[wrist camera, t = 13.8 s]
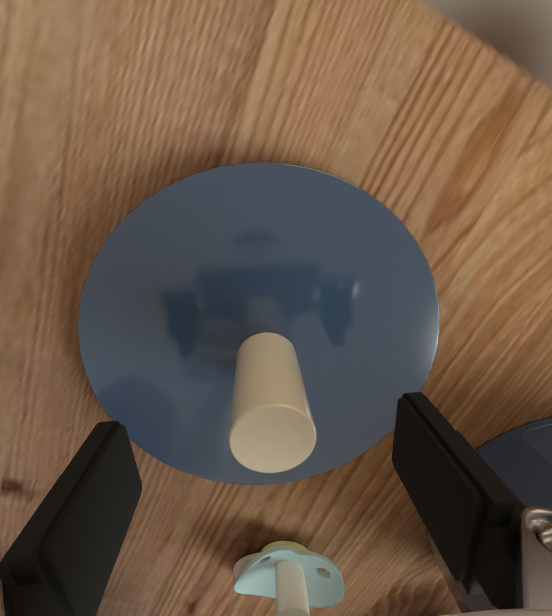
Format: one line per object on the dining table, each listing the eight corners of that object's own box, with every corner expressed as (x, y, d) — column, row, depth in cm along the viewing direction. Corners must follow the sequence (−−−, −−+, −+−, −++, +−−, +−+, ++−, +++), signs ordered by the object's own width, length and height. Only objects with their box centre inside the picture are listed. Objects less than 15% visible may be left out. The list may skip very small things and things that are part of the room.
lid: (181, 499, 18) (149, 636, 13) (12, 242, 12) (-193, 284, 7) (443, 420, 18) (534, 529, 12) (399, 103, 12) (542, 17, 6)
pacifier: (307, 588, 23) (346, 543, 21) (324, 723, 17) (379, 679, 15) (217, 570, 21) (250, 520, 19) (203, 713, 16) (247, 662, 14)
